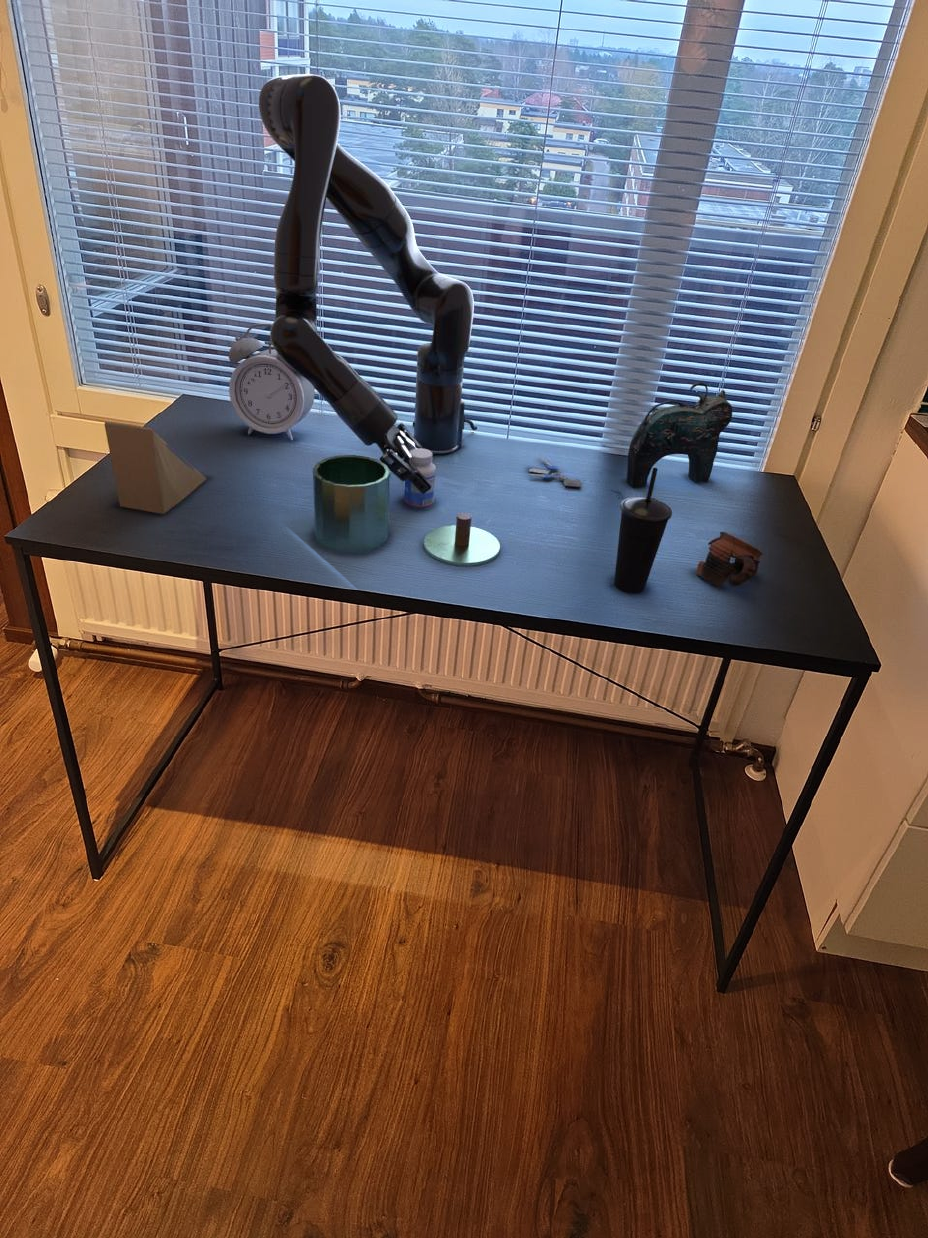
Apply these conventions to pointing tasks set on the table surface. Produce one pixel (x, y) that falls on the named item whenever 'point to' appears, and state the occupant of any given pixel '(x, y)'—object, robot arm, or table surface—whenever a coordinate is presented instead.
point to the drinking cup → (639, 539)
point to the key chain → (566, 481)
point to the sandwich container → (148, 469)
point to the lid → (461, 543)
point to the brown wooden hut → (719, 561)
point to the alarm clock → (267, 388)
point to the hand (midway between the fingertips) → (429, 482)
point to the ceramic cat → (679, 436)
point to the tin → (351, 502)
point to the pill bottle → (427, 469)
